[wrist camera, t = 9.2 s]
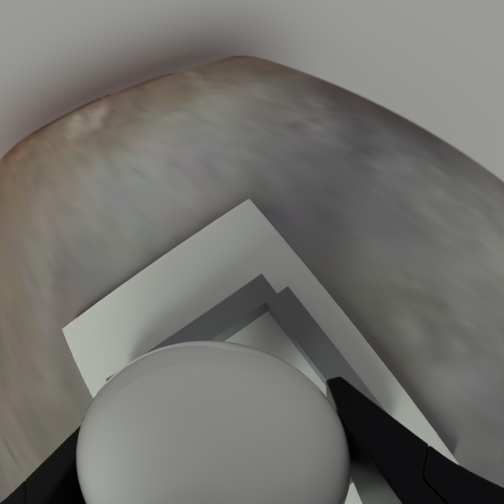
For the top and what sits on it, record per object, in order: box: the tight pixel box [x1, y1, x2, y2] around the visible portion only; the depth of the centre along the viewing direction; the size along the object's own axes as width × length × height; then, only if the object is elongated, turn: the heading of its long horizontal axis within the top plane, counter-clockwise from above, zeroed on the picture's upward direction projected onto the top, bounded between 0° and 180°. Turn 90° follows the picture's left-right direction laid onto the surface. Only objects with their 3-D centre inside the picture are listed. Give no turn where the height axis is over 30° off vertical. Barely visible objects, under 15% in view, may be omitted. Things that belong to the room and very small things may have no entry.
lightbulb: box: [76, 341, 351, 504], centre depth 8 cm, size 6×6×11 cm
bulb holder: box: [62, 199, 459, 504], centre depth 14 cm, size 20×14×3 cm
